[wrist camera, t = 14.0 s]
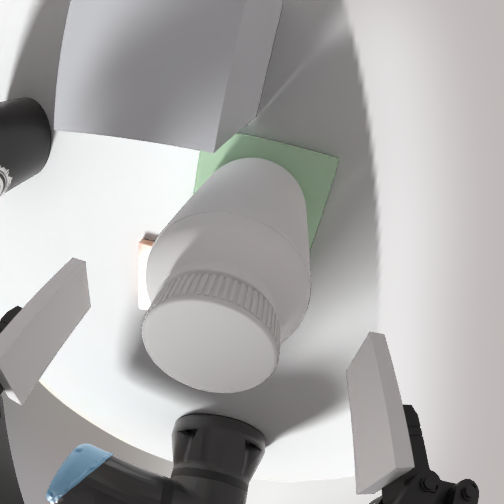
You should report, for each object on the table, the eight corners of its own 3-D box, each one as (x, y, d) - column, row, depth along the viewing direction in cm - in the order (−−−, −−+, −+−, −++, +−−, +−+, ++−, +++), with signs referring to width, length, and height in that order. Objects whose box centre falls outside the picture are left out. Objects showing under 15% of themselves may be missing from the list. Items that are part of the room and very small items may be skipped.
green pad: (301, 268, 27) (301, 273, 27) (189, 240, 27) (186, 245, 27) (337, 157, 22) (339, 160, 21) (206, 126, 22) (203, 128, 22)
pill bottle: (307, 154, 22) (325, 270, 9) (303, 252, 26) (303, 418, 13) (198, 154, 23) (81, 259, 10) (207, 249, 27) (139, 398, 14)
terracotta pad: (214, 324, 32) (212, 329, 31) (142, 303, 32) (139, 308, 31) (226, 259, 28) (224, 264, 27) (142, 238, 28) (138, 242, 27)
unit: (255, 121, 22) (211, 164, 10) (165, 106, 22) (53, 139, 10) (284, -1, 17) (271, -87, 5) (189, -11, 17) (95, -75, 5)
